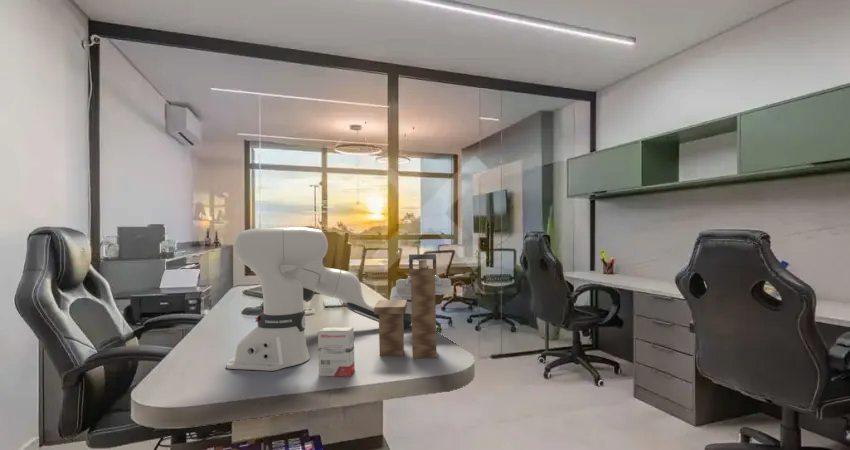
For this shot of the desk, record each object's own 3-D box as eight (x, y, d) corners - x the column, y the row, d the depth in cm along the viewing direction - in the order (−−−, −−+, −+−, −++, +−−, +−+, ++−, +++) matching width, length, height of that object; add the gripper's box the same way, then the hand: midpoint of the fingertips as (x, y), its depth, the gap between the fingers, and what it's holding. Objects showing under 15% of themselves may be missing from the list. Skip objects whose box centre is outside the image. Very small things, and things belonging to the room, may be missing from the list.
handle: (418, 268, 123) (418, 260, 123) (419, 264, 138) (419, 257, 138) (426, 268, 123) (426, 260, 123) (426, 264, 138) (426, 257, 138)
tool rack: (375, 358, 121) (373, 255, 121) (379, 346, 134) (378, 253, 134) (438, 357, 121) (436, 254, 121) (437, 345, 134) (435, 252, 134)
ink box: (355, 370, 111) (354, 326, 111) (350, 376, 106) (349, 330, 106) (324, 370, 112) (323, 326, 112) (317, 376, 107) (317, 330, 107)
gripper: (451, 299, 156) (453, 285, 145) (397, 300, 156) (394, 286, 144) (450, 284, 160) (452, 269, 148) (397, 285, 160) (395, 270, 148)
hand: (423, 277), depth 146 cm, fingers open, 8 cm apart
